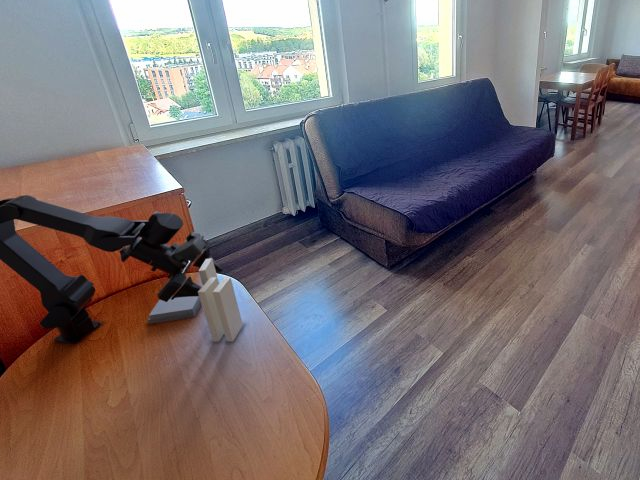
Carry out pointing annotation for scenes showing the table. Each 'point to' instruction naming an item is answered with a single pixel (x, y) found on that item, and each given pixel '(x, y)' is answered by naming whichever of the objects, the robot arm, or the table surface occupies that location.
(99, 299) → the table surface
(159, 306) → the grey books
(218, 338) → the cream books
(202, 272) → the slim cream book
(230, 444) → the table surface
